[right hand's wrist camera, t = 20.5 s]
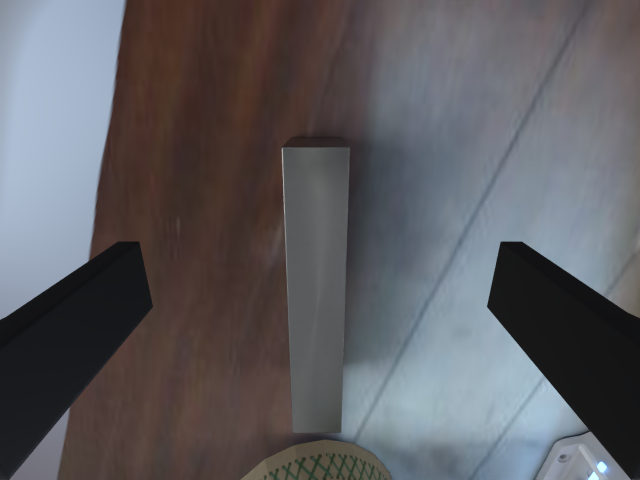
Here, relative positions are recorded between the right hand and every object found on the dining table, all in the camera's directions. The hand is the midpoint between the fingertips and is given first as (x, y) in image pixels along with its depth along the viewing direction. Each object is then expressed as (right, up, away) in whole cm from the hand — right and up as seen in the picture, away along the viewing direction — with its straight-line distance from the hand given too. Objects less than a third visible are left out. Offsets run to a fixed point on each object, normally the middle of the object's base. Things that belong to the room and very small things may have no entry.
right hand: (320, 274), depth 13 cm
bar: (0, -2, +24) cm, 24 cm away
